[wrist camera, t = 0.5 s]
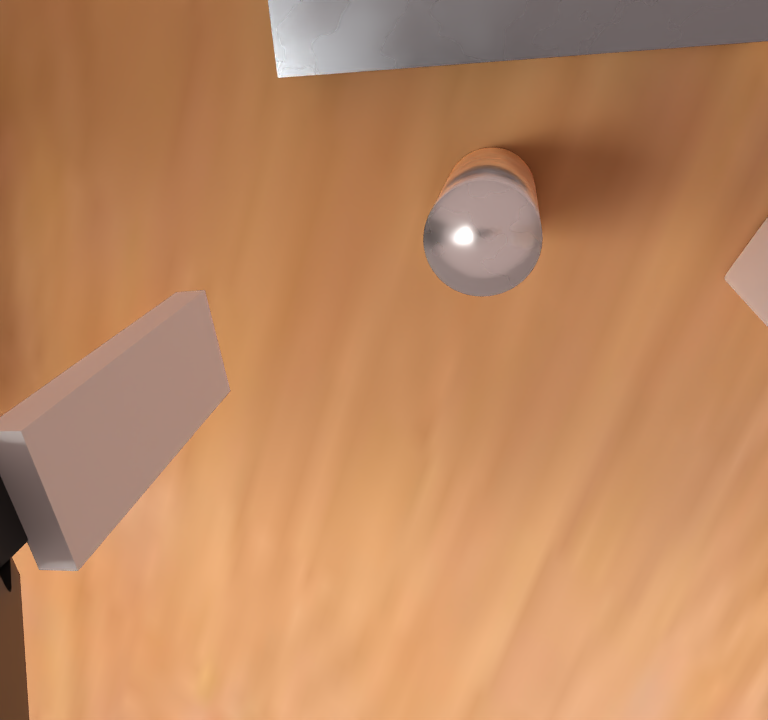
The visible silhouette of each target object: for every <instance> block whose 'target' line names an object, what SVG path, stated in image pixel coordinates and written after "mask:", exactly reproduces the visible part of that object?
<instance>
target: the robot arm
mask: <svg viewBox="0 0 768 720" xmlns="http://www.w3.org/2000/svg"><path fill="white" fill-rule="evenodd" d="M229 392H230V388H229V384H228V380H227V376H226V372H225V368H224V364H223V360H222V356H221V352H220V348H219V344H218V340H217V336H216V332H215V328H214V324H213V320H212V316H211V312H210V309H209V305H208V301H207V297H206V293H205V290H200V291H186V292H176V293H174V294H173V295H172V296H170V297H169V298H167V299H166V300H165V301H163V302H162V303H160V304H159V305H158V306H156V307H155V308H153V309H152V310H150V311H149V312H148V313H146V314H145V315H143V316H142V317H141V318H139V319H138V320H136V321H135V322H134V323H132V324H131V325H129V326H128V327H126V328H125V329H124V330H122V331H121V332H119V333H118V334H117V335H115V336H114V337H112V338H111V339H110V340H108V341H107V342H105V343H104V344H102V345H101V346H100V347H98V348H97V349H95V350H94V351H93V352H91V353H90V354H88V355H87V356H86V357H84V358H83V359H81V360H80V361H78V362H77V363H76V364H74V365H73V366H71V367H70V368H69V369H67V370H66V371H64V372H63V373H62V374H60V375H59V376H57V377H56V378H54V379H53V380H52V381H50V382H49V383H47V384H46V385H45V386H43V387H42V388H40V389H39V390H38V391H36V392H35V393H33V394H32V395H30V396H29V397H28V398H26V399H25V400H23V401H22V402H21V403H19V404H18V405H16V406H15V407H14V408H12V409H11V410H9V411H8V412H6V413H5V414H4V415H2V416H1V417H0V720H29V709H28V693H27V677H26V662H25V646H24V631H23V615H22V600H21V584H20V574H19V572H18V570H17V567H16V565H15V563H14V561H13V559H12V556H13V555H14V554H15V553H16V552H17V551H18V550H19V549H20V548H21V547H22V546H23V545H24V544H25V543H26V542H27V543H28V545H29V547H30V550H31V552H32V554H33V556H34V559H35V561H36V563H37V565H38V568H39V570H63V571H78V570H79V569H80V568H81V567H82V566H83V565H84V563H85V562H86V561H87V560H88V559H89V557H90V556H91V555H92V554H93V553H94V552H95V550H96V549H97V548H98V547H99V546H100V544H101V543H102V542H103V541H104V540H105V538H106V537H107V536H108V535H109V534H110V533H111V531H112V530H113V529H114V528H115V527H116V525H117V524H118V523H119V522H120V521H121V520H122V518H123V517H124V516H125V515H126V514H127V512H128V511H129V510H130V509H131V508H132V507H133V505H134V504H135V503H136V502H137V501H138V499H139V498H140V497H141V496H142V495H143V494H144V492H145V491H146V490H147V489H148V488H149V486H150V485H151V484H152V483H153V482H154V481H155V479H156V478H157V477H158V476H159V475H160V473H161V472H162V471H163V470H164V469H165V468H166V466H167V465H168V464H169V463H170V462H171V460H172V459H173V458H174V457H175V456H176V455H177V453H178V452H179V451H180V450H181V449H182V447H183V446H184V445H185V444H186V443H187V441H188V440H189V439H190V438H191V437H192V436H193V434H194V433H195V432H196V431H197V430H198V428H199V427H200V426H201V425H202V424H203V423H204V421H205V420H206V419H207V418H208V417H209V415H210V414H211V413H212V412H213V411H214V410H215V408H216V407H217V406H218V405H219V404H220V402H221V401H222V400H223V399H224V398H225V397H226V395H227V394H228V393H229Z"/></svg>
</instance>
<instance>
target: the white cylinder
mask: <svg viewBox="0 0 768 720" xmlns="http://www.w3.org/2000/svg"><path fill="white" fill-rule="evenodd" d="M423 242H424V250H425V254H426V258H427V260H428V263H429V265H430V266H431V268H432V270H433V271H434V273H435V274H436V275H437V277H438V278H439V279H440V280H441V281H442V282H444V283H445V284H446V285H447V286H449V287H451V288H452V289H454V290H456V291H458V292H461V293H464V294H467V295H472V296H492V295H497V294H500V293H503V292H506V291H508V290H510V289H512V288H514V287H515V286H517V285H518V284H519V283H521V282H522V281H523V280H524V279H525V278H526V277H527V276H528V275H529V274H530V272H531V271H532V270H533V268H534V266H535V265H536V263H537V261H538V258H539V255H540V252H541V248H542V227H541V221H540V214H539V207H538V201H537V194H536V187H535V182H534V178H533V175H532V172H531V170H530V169H529V167H528V165H527V164H526V163H525V162H524V161H523V160H522V159H521V158H520V157H519V156H518V155H516V154H515V153H513V152H511V151H509V150H506V149H502V148H497V147H488V148H482V149H478V150H475V151H473V152H471V153H469V154H467V155H466V156H465V157H463V158H462V159H461V160H460V161H459V162H458V163H457V164H456V165H455V167H454V168H453V170H452V171H451V173H450V175H449V177H448V179H447V181H446V183H445V185H444V187H443V189H442V191H441V192H440V194H439V196H438V198H437V200H436V202H435V204H434V206H433V208H432V210H431V212H430V214H429V216H428V218H427V221H426V225H425V229H424V240H423Z"/></svg>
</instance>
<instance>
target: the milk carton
mask: <svg viewBox="0 0 768 720" xmlns="http://www.w3.org/2000/svg"><path fill="white" fill-rule="evenodd" d="M725 280H726V282H727V283H728V284H729V285H730V286H731V287H732V288H733V289H734V291H735V292H736V293H737V294H738V295H739V296H740V297H741V298H742V299H743V300H744V302H745V303H746V304H747V305H748V306H749V307H750V308H751V309H752V310H753V311H754V312H755V314H756V315H757V316H758V317H759V318H760V319H761V320H762V321H763V322H764V323H765V325H766V326H767V327H768V217H767V219H766V220H765V221H764V223H763V224H762V225H761V227H760V228H759V229H758V231H757V232H756V234H755V235H754V236H753V238H752V239H751V240H750V242H749V243H748V244H747V246H746V247H745V248H744V250H743V251H742V253H741V254H740V255H739V257H738V258H737V259H736V261H735V262H734V263H733V265H732V266H731V268H730V269H729V270H728V272H727V273H726V275H725Z"/></svg>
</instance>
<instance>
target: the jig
mask: <svg viewBox="0 0 768 720" xmlns="http://www.w3.org/2000/svg"><path fill="white" fill-rule="evenodd" d="M268 5H269V13H270V21H271V29H272V37H273V45H274V53H275V60H276V68H277V76H278V78H282V77H295V76H308V75H322V74H335V73H348V72H362V71H375V70H388V69H402V68H415V67H428V66H441V65H455V64H468V63H481V62H495V61H508V60H521V59H535V58H548V57H561V56H575V55H588V54H601V53H614V52H628V51H641V50H654V49H668V48H681V47H694V46H708V45H721V44H734V43H747V42H761V41H768V0H268Z"/></svg>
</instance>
